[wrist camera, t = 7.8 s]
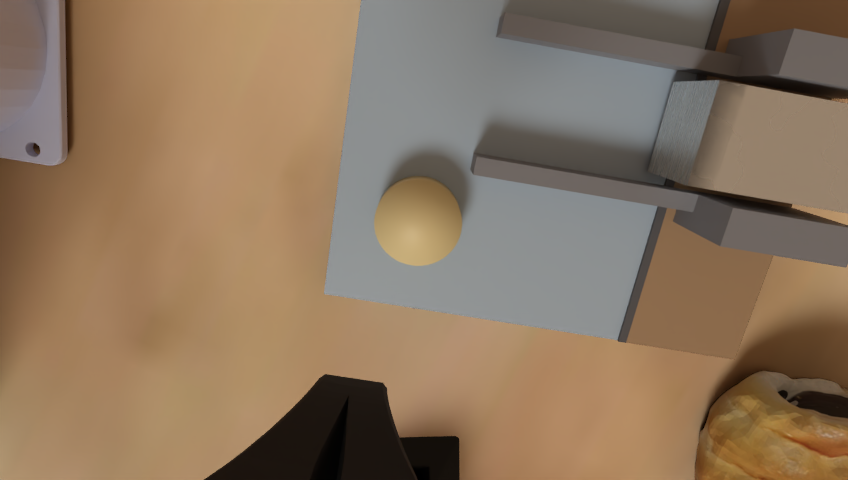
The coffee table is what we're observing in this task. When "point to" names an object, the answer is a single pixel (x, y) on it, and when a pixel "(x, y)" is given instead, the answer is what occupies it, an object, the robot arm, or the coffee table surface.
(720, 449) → the pastry
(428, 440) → the black block
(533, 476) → the coffee table surface
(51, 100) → the robot arm
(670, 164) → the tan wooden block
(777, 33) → the door board
